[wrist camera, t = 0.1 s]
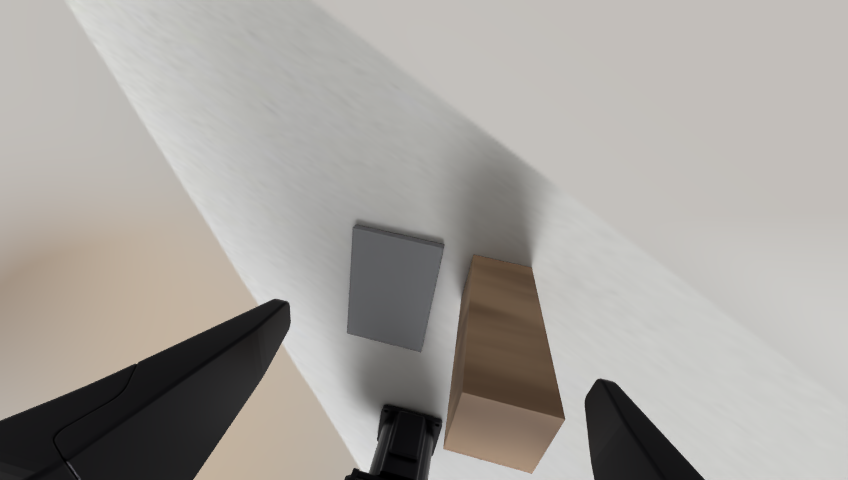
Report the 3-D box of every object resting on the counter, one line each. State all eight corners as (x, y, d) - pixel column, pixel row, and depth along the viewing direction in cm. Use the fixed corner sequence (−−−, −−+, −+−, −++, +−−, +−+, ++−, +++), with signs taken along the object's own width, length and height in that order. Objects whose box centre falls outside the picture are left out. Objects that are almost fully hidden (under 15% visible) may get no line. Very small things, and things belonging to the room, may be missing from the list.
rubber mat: (422, 347, 30) (421, 352, 29) (349, 328, 30) (347, 333, 30) (444, 244, 24) (443, 248, 24) (355, 224, 25) (353, 227, 24)
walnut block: (514, 312, 26) (531, 473, 16) (461, 299, 26) (443, 448, 16) (531, 267, 24) (565, 419, 14) (473, 254, 24) (462, 392, 14)
